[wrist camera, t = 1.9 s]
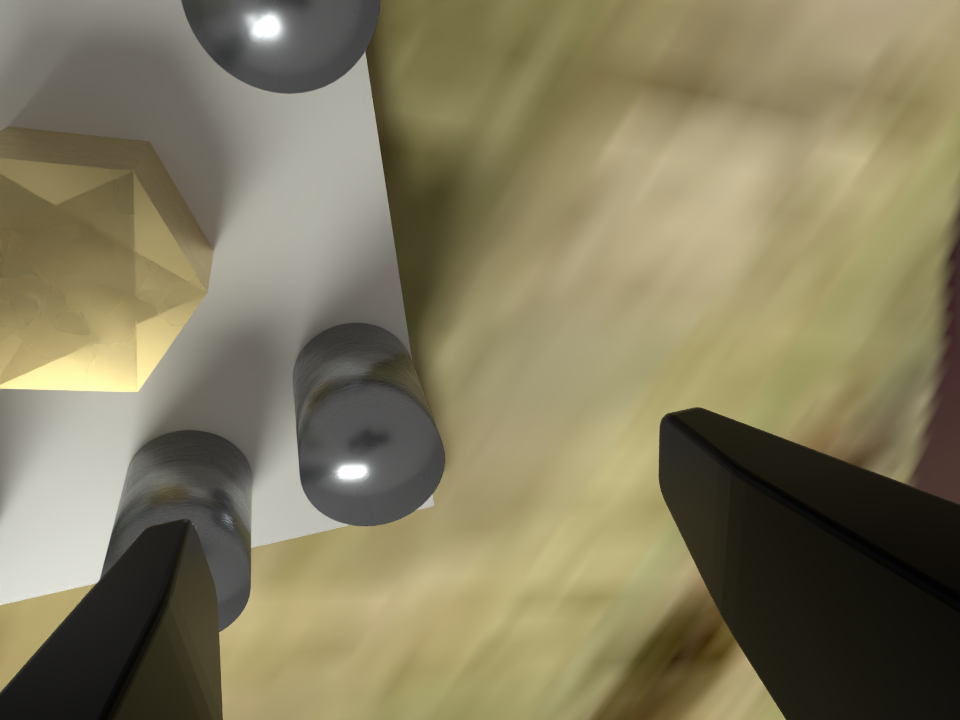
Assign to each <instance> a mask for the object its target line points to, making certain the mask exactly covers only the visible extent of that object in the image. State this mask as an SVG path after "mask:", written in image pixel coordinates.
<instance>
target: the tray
mask: <svg viewBox="0 0 960 720" xmlns="http://www.w3.org/2000/svg"><path fill="white" fill-rule="evenodd" d="M7 126H11V127H20V128H29V129H38V130H48V131H57V132H66V133H75V134H84V135H93V136H103V137H112V138H121V139H130V140H139V141H148V142H150V143H151V145H152V146H153V148H154V150H155V151H156V153H157V155H158V156H159V158H160V160H161V162H162V163H163V165H164V167H165V168H166V170H167V172H168V174H169V175H170V177H171V179H172V180H173V182H174V184H175V185H176V187H177V189H178V191H179V192H180V194H181V196H182V197H183V199H184V201H185V202H186V204H187V206H188V208H189V209H190V211H191V213H192V214H193V216H194V218H195V220H196V221H197V223H198V225H199V226H200V228H201V230H202V231H203V233H204V235H205V237H206V238H207V240H208V242H209V243H210V245H211V247H212V248H213V250H214V253H213V260H212V266H211V273H210V280H209V286H208V293H207V294H206V296H205V297H204V299H203V300H202V301H201V303H200V304H199V306H198V307H197V309H196V310H195V311H194V313H193V314H192V316H191V317H190V318H189V320H188V321H187V323H186V324H185V326H184V327H183V328H182V330H181V331H180V333H179V334H178V335H177V337H176V338H175V340H174V341H173V343H172V344H171V345H170V347H169V348H168V350H167V351H166V353H165V354H164V355H163V357H162V358H161V360H160V361H159V362H158V364H157V365H156V367H155V368H154V370H153V371H152V372H151V374H150V375H149V377H148V378H147V380H146V381H145V382H144V384H143V385H142V387H141V388H140V389H139V391H138V392H111V391H73V390H36V389H0V605H3V604H7V603H12V602H16V601H20V600H25V599H29V598H34V597H38V596H42V595H47V594H51V593H55V592H60V591H64V590H69V589H73V588H77V587H82V586H86V585H91V584H95V583H97V582H98V581H99V580H100V576H101V572H102V568H103V564H104V561H105V557H106V553H107V549H108V545H109V541H110V537H111V533H112V529H113V525H114V521H115V517H116V513H117V509H118V505H119V501H120V497H121V493H122V489H123V485H124V481H125V477H126V473H127V469H128V466H129V464H130V462H131V460H132V458H133V457H134V455H135V454H136V453H137V452H138V450H139V449H141V448H142V447H143V446H144V445H145V444H147V443H148V442H149V441H151V440H153V439H155V438H157V437H159V436H161V435H164V434H167V433H171V432H175V431H182V430H197V431H204V432H209V433H212V434H216V435H218V436H220V437H223V438H225V439H226V440H228V441H230V442H231V443H233V444H234V445H235V446H236V447H237V448H238V449H239V450H240V451H241V452H242V453H243V454H244V456H245V457H246V459H247V461H248V463H249V465H250V468H251V473H252V519H251V548H253V547H257V546H261V545H266V544H270V543H274V542H279V541H283V540H288V539H292V538H296V537H301V536H305V535H309V534H314V533H318V532H323V531H327V530H331V529H336V528H340V527H344V526H349V525H348V524H344V523H340V522H338V521H335V520H333V519H331V518H329V517H327V516H325V515H324V514H322V513H321V512H320V511H318V510H317V509H316V508H315V507H314V506H313V505H312V504H311V502H310V501H309V500H308V498H307V497H306V495H305V493H304V491H303V488H302V485H301V481H300V473H299V460H298V447H297V433H296V420H295V407H294V394H293V370H294V366H295V362H296V360H297V358H298V356H299V354H300V352H301V351H302V349H303V348H304V347H305V346H306V344H307V343H308V342H309V341H310V340H311V339H313V338H314V337H315V336H317V335H318V334H319V333H321V332H323V331H325V330H327V329H329V328H331V327H334V326H337V325H341V324H347V323H366V324H371V325H376V326H378V327H381V328H383V329H385V330H387V331H389V332H391V333H392V334H393V335H395V336H396V337H397V338H398V339H399V340H400V341H401V342H402V343H403V344H404V346H405V347H406V349H407V350H408V352H409V354H410V357H411V359H412V356H411V349H410V343H409V336H408V329H407V323H406V316H405V310H404V303H403V297H402V290H401V283H400V277H399V270H398V264H397V257H396V250H395V244H394V237H393V231H392V224H391V217H390V211H389V204H388V198H387V191H386V184H385V178H384V171H383V165H382V158H381V152H380V145H379V138H378V132H377V125H376V119H375V112H374V105H373V99H372V92H371V86H370V79H369V72H368V66H367V59H366V53H365V52H364V54H363V56H362V57H361V58H360V59H359V61H358V62H357V63H356V64H355V66H354V67H353V68H351V69H350V70H349V71H348V72H347V73H346V74H345V75H343V76H342V77H341V78H339V79H338V80H336V81H335V82H333V83H331V84H329V85H327V86H325V87H322V88H319V89H317V90H314V91H309V92H304V93H294V94H285V93H275V92H269V91H264V90H261V89H258V88H255V87H252V86H250V85H248V84H246V83H244V82H242V81H240V80H238V79H237V78H235V77H234V76H232V75H230V74H229V73H228V72H226V71H225V70H224V69H223V68H221V67H220V66H219V65H218V64H217V63H216V62H215V61H214V60H213V59H212V58H211V57H210V56H209V55H208V54H207V52H206V51H205V50H204V48H203V47H202V46H201V44H200V43H199V42H198V40H197V38H196V36H195V35H194V33H193V31H192V29H191V27H190V25H189V23H188V20H187V18H186V15H185V12H184V9H183V6H182V2H181V0H0V131H1V130H3V129H4V128H6V127H7ZM432 506H434V501H433V494H432V495H431V497H430V498H429V499H428V500H427V501H426V502H425V503H424V504H423V505H421V506H420V507H419V508H418V509H417V510H419V509H423V508H428V507H432Z"/></svg>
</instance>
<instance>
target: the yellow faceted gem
mask: <svg viewBox="0 0 960 720" xmlns="http://www.w3.org/2000/svg"><path fill="white" fill-rule="evenodd" d="M213 253H214V250H213V248H212V247H211V245H210V243H209V242H208V240H207V238H206V237H205V235H204V233H203V231H202V230H201V228H200V226H199V225H198V223H197V221H196V220H195V218H194V216H193V214H192V213H191V211H190V209H189V208H188V206H187V204H186V202H185V201H184V199H183V197H182V196H181V194H180V192H179V191H178V189H177V187H176V185H175V184H174V182H173V180H172V179H171V177H170V175H169V174H168V172H167V170H166V168H165V167H164V165H163V163H162V162H161V160H160V158H159V156H158V155H157V153H156V151H155V150H154V148H153V146H152V145H151V143H150V142H148V141H139V140H130V139H121V138H112V137H103V136H93V135H84V134H75V133H66V132H57V131H48V130H38V129H29V128H20V127H11V126H7V127H6V128H4V129H3V130H1V131H0V389H36V390H73V391H111V392H138V391H139V389H140V388H141V387H142V385H143V384H144V382H145V381H146V380H147V378H148V377H149V375H150V374H151V372H152V371H153V370H154V368H155V367H156V365H157V364H158V362H159V361H160V360H161V358H162V357H163V355H164V354H165V353H166V351H167V350H168V348H169V347H170V345H171V344H172V343H173V341H174V340H175V338H176V337H177V335H178V334H179V333H180V331H181V330H182V328H183V327H184V326H185V324H186V323H187V321H188V320H189V318H190V317H191V316H192V314H193V313H194V311H195V310H196V309H197V307H198V306H199V304H200V303H201V301H202V300H203V299H204V297H205V296H206V294H207V293H208V286H209V280H210V273H211V266H212V260H213Z"/></svg>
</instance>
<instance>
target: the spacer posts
mask: <svg viewBox="0 0 960 720" xmlns="http://www.w3.org/2000/svg"><path fill="white" fill-rule="evenodd" d="M181 2H182V6H183V9H184V12H185V15H186V18H187V20H188V23H189V25H190V27H191V29H192V31H193V33H194V35H195V36H196V38H197V40H198V42H199V43H200V44H201V46H202V47H203V48H204V50H205V51H206V52H207V54H208V55H209V56H210V57H211V58H212V59H213V60H214V61H215V62H216V63H217V64H218V65H219V66H220V67H221V68H223V69H224V70H225V71H226V72H228V73H229V74H230V75H232V76H234V77H235V78H237V79H238V80H240V81H242V82H244V83H246V84H248V85H250V86H252V87H255V88H258V89H261V90H264V91H269V92H275V93H285V94H294V93H304V92H309V91H314V90H317V89H319V88H322V87H325V86H327V85H329V84H331V83H333V82H335V81H336V80H338V79H339V78H341V77H342V76H343V75H345V74H346V73H347V72H348V71H349V70H350V69H351V68H353V67H354V66H355V64H356V63H357V62H358V61H359V59H360V58H361V57H362V56H363V54H364V52H365V51H366V49H367V47H368V46H369V44H370V41H371V39H372V37H373V35H374V32H375V28H376V25H377V22H378V16H379V10H380V0H181ZM293 394H294V407H295V420H296V433H297V447H298V460H299V473H300V481H301V485H302V488H303V491H304V493H305V495H306V497H307V498H308V500H309V501H310V502H311V504H312V505H313V506H314V507H315V508H316V509H317V510H318V511H320V512H321V513H322V514H324V515H325V516H327V517H329V518H331V519H333V520H335V521H338V522H340V523H344V524H348V525H355V526H376V525H381V524H386V523H390V522H393V521H396V520H398V519H401V518H403V517H405V516H407V515H409V514H411V513H412V512H414V511H415V510H417V509H418V508H419V507H420V506H421V505H423V504H424V503H425V502H426V501H427V500H428V499H429V498H430V497H431V495H432V494H433V493H434V491H435V490H436V488H437V486H438V484H439V483H440V480H441V478H442V475H443V471H444V465H445V452H444V448H443V444H442V441H441V438H440V436H439V433H438V430H437V427H436V425H435V422H434V419H433V417H432V414H431V411H430V408H429V406H428V403H427V400H426V397H425V395H424V392H423V389H422V387H421V384H420V381H419V378H418V376H417V373H416V370H415V367H414V365H413V362H412V359H411V357H410V354H409V352H408V350H407V349H406V347H405V346H404V344H403V343H402V342H401V341H400V340H399V339H398V338H397V337H396V336H395V335H393V334H392V333H391V332H389V331H387V330H385V329H383V328H381V327H378V326H376V325H371V324H366V323H347V324H341V325H337V326H334V327H331V328H329V329H327V330H325V331H323V332H321V333H319V334H318V335H317V336H315V337H314V338H313V339H311V340H310V341H309V342H308V343H307V344H306V346H305V347H304V348H303V349H302V351H301V352H300V354H299V356H298V358H297V360H296V362H295V366H294V370H293ZM179 519H189V520H190V521H192V522H193V523H194V525H195V527H196V529H197V532H198V535H199V538H200V541H201V544H202V547H203V550H204V553H205V556H206V559H207V562H208V565H209V568H210V571H211V574H212V577H213V580H214V584H215V588H216V594H217V601H218V622H219V632H220V631H222V630H223V629H225V628H226V627H228V626H229V625H230V624H231V623H233V622H234V621H235V620H236V619H237V618H238V616H239V615H240V614H241V612H242V611H243V610H244V608H245V606H246V604H247V602H248V599H249V595H250V588H251V519H252V473H251V468H250V465H249V463H248V461H247V459H246V457H245V456H244V454H243V453H242V452H241V451H240V450H239V449H238V448H237V447H236V446H235V445H234V444H233V443H231V442H230V441H228V440H226V439H225V438H223V437H220V436H218V435H216V434H212V433H209V432H204V431H197V430H182V431H175V432H171V433H167V434H164V435H161V436H159V437H157V438H155V439H153V440H151V441H149V442H148V443H147V444H145V445H144V446H143V447H142V448H141V449H139V450H138V452H137V453H136V454H135V455H134V457H133V458H132V460H131V462H130V464H129V466H128V469H127V473H126V477H125V481H124V485H123V489H122V493H121V497H120V501H119V505H118V509H117V513H116V517H115V521H114V525H113V529H112V533H111V537H110V541H109V545H108V549H107V553H106V557H105V561H104V564H103V568H102V572H101V576H100V579H101V578H102V577H103V575H104V574H105V573H106V572H107V571H108V570H109V569H110V568H111V566H112V565H113V564H114V563H115V562H116V561H117V560H118V558H119V557H120V556H121V555H122V554H123V553H124V552H125V550H126V549H127V548H128V547H129V546H130V545H131V544H132V543H133V541H134V540H135V539H136V538H137V537H138V536H139V535H140V533H141V532H142V531H143V530H145V529H146V528H147V527H149V526H152V525H156V524H161V523H165V522H170V521H175V520H179Z"/></svg>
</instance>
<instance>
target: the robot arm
mask: <svg viewBox="0 0 960 720" xmlns="http://www.w3.org/2000/svg"><path fill="white" fill-rule="evenodd" d="M659 484H660V488H661V492H662V495H663V498H664V500H665V502H666V504H667V506H668V508H669V510H670V512H671V515H672V517H673V519H674V521H675V523H676V525H677V527H678V529H679V531H680V533H681V535H682V537H683V539H684V541H685V543H686V546H687V548H688V550H689V552H690V554H691V556H692V558H693V560H694V562H695V564H696V566H697V568H698V570H699V572H700V575H701V577H702V579H703V581H704V583H705V585H706V587H707V589H708V591H709V593H710V595H711V597H712V599H713V601H714V603H715V605H716V607H717V609H718V611H719V613H720V615H721V616H722V618H723V620H724V621H725V623H726V625H727V626H728V628H729V630H730V631H731V633H732V635H733V636H734V638H735V640H736V641H737V643H738V644H739V646H740V648H741V649H742V651H743V652H744V654H745V655H746V657H747V659H748V660H749V662H750V663H751V665H752V667H753V668H754V670H755V671H756V673H757V674H758V676H759V678H760V679H761V681H762V682H763V684H764V685H765V687H766V689H767V690H768V692H769V693H770V695H771V697H772V698H773V700H774V701H775V703H776V704H777V706H778V708H779V709H780V711H781V712H782V714H783V716H784V717H785V719H786V720H960V504H957V503H955V502H952V501H949V500H947V499H944V498H941V497H939V496H936V495H933V494H931V493H928V492H925V491H923V490H920V489H917V488H915V487H912V486H909V485H907V484H904V483H901V482H899V481H896V480H893V479H891V478H888V477H885V476H883V475H880V474H877V473H875V472H872V471H869V470H867V469H864V468H861V467H859V466H856V465H853V464H851V463H848V462H845V461H843V460H840V459H837V458H834V457H832V456H829V455H826V454H824V453H821V452H818V451H816V450H813V449H810V448H808V447H805V446H802V445H800V444H797V443H794V442H792V441H789V440H786V439H784V438H781V437H778V436H776V435H773V434H770V433H768V432H765V431H762V430H760V429H757V428H754V427H752V426H749V425H746V424H744V423H741V422H738V421H735V420H733V419H730V418H727V417H725V416H722V415H719V414H717V413H714V412H711V411H709V410H706V409H703V408H698V407H696V408H690V409H686V410H681V411H677V412H672V413H668V414H666V415H665V416H664V417H663V418H662V420H661V423H660V435H659ZM0 720H223V716H222V692H221V669H220V645H219V622H218V601H217V594H216V588H215V584H214V580H213V577H212V574H211V571H210V568H209V565H208V562H207V559H206V556H205V553H204V550H203V547H202V544H201V541H200V538H199V535H198V532H197V529H196V527H195V525H194V523H193V522H192V521H190V520H189V519H179V520H175V521H170V522H165V523H161V524H156V525H152V526H149V527H147V528H146V529H145V530H143V531H142V532H141V533H140V535H139V536H138V537H137V538H136V539H135V540H134V541H133V543H132V544H131V545H130V546H129V547H128V548H127V549H126V550H125V552H124V553H123V554H122V555H121V556H120V557H119V558H118V560H117V561H116V562H115V563H114V564H113V565H112V566H111V568H110V569H109V570H108V571H107V572H106V573H105V574H104V575H103V577H102V578H101V579H100V580H99V581H98V582H97V583H96V585H95V586H94V587H93V588H92V589H91V590H90V591H89V592H88V594H87V595H86V596H85V597H84V598H83V599H82V600H81V602H80V603H79V604H78V605H77V606H76V607H75V608H74V610H73V611H72V612H71V613H70V614H69V615H68V616H67V617H66V619H65V620H64V621H63V622H62V623H61V624H60V625H59V627H58V628H57V629H56V630H55V631H54V632H53V633H52V635H51V636H50V637H49V638H48V639H47V640H46V641H45V642H44V644H43V645H42V646H41V647H40V648H39V649H38V650H37V652H36V653H35V654H34V655H33V656H32V657H31V658H30V659H29V661H28V662H27V663H26V664H25V665H24V666H23V667H22V669H21V670H20V671H19V672H18V673H17V674H16V675H15V677H14V678H13V679H12V680H11V681H10V682H9V683H8V684H7V686H6V687H5V688H4V689H3V690H2V691H1V692H0Z"/></svg>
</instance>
